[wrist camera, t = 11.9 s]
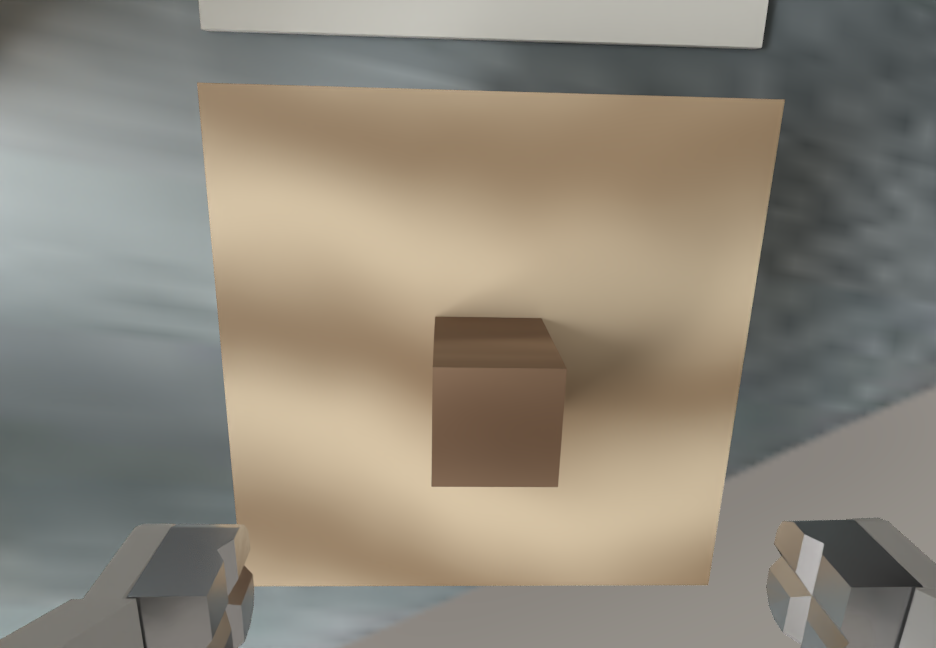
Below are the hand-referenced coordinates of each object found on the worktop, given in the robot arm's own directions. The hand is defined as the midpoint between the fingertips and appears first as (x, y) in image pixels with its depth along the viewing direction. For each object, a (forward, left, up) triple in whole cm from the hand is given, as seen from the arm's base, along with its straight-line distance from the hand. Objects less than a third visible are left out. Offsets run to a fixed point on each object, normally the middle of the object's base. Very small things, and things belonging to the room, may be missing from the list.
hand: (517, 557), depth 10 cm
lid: (0, 0, -10) cm, 10 cm away
